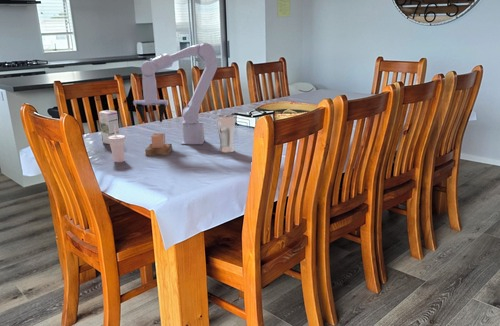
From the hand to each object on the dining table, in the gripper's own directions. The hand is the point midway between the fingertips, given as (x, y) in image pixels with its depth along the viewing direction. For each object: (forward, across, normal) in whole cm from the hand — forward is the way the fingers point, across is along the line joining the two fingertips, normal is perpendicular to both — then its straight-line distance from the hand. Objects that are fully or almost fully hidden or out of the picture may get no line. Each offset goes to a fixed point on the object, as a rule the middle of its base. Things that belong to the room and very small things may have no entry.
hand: (152, 121), depth 187 cm
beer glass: (+11, +33, -10) cm, 36 cm away
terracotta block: (+8, +5, -12) cm, 15 cm away
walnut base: (+10, +5, -12) cm, 17 cm away
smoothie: (+11, -8, -24) cm, 27 cm away
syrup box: (+11, -20, +3) cm, 23 cm away
